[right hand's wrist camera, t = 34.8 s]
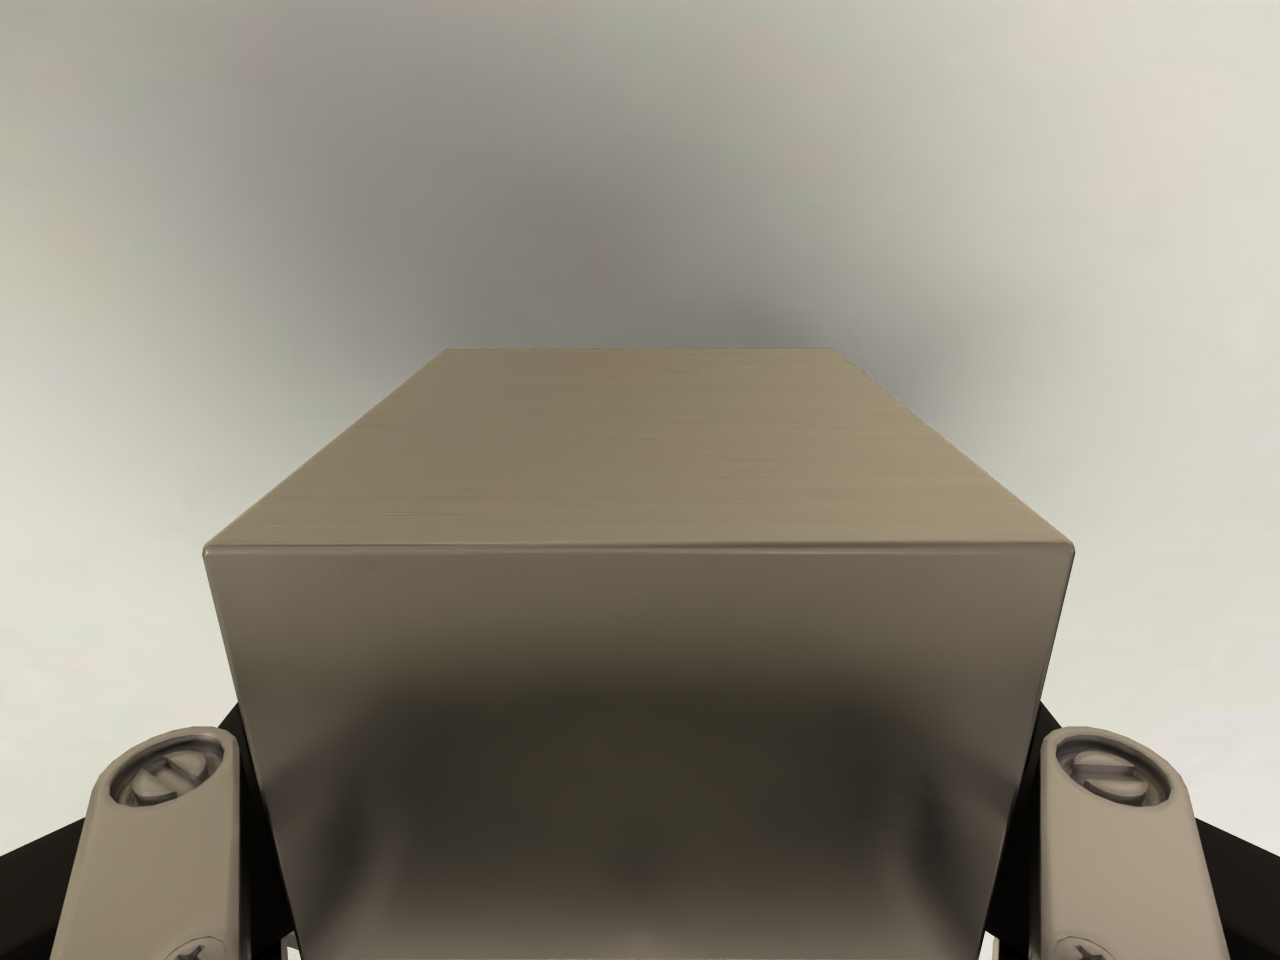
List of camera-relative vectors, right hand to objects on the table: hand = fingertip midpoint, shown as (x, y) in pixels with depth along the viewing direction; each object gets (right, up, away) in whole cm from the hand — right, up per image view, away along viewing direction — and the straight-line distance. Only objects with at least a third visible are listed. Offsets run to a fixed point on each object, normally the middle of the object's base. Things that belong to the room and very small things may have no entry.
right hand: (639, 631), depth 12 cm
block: (0, +1, +3) cm, 3 cm away
